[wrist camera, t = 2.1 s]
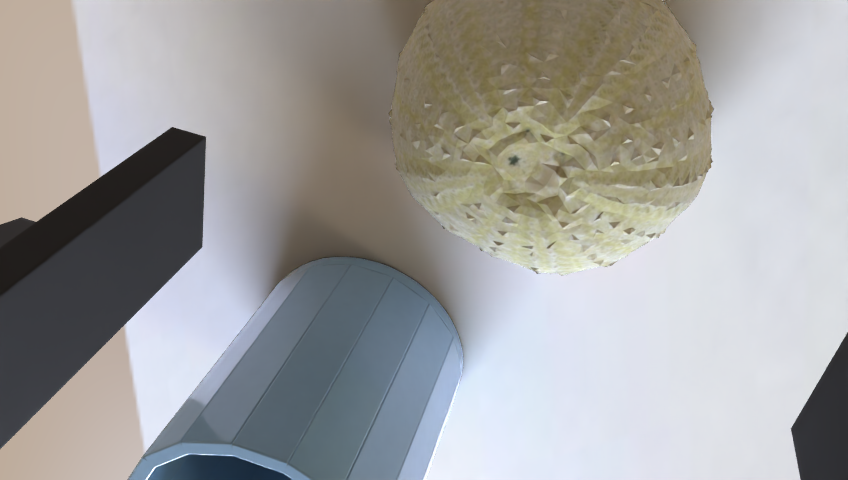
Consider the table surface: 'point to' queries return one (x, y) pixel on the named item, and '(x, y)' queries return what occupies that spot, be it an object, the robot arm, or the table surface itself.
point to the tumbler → (322, 385)
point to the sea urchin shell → (552, 126)
